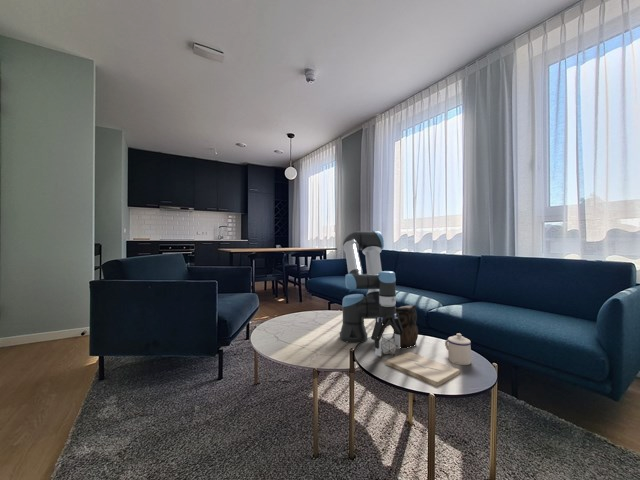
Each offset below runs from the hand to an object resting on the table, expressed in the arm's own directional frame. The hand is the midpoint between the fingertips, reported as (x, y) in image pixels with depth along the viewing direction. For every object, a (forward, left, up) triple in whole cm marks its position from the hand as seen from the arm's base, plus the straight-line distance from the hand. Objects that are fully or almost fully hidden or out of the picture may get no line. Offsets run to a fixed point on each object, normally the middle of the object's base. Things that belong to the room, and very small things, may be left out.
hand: (388, 351), depth 123 cm
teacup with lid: (+22, +19, -2) cm, 29 cm away
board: (+17, -1, -1) cm, 17 cm away
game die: (0, 0, -2) cm, 2 cm away
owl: (-4, +17, -2) cm, 18 cm away
